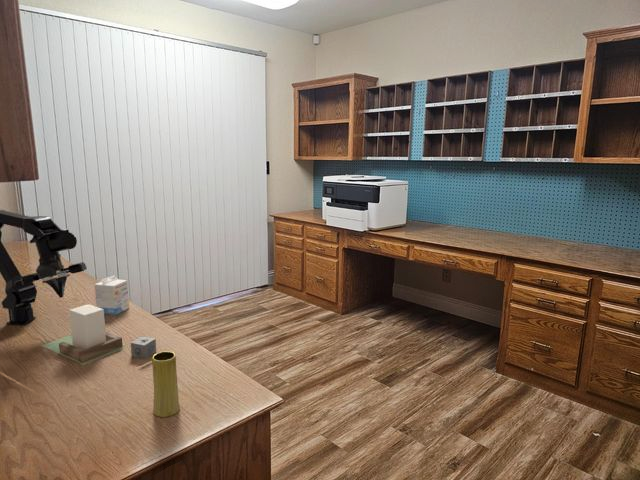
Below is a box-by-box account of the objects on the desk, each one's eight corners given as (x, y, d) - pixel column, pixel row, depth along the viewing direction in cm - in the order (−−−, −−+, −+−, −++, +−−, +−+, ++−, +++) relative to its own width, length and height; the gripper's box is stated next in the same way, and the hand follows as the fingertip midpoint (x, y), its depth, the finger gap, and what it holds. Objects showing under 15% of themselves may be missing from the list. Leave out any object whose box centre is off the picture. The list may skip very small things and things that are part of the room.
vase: (157, 403, 107) (154, 350, 105) (182, 402, 108) (180, 349, 105) (149, 418, 102) (146, 362, 99) (176, 417, 102) (174, 361, 99)
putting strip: (41, 346, 136) (41, 345, 136) (84, 331, 148) (84, 330, 148) (83, 366, 124) (83, 364, 124) (126, 348, 136) (126, 347, 136)
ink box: (115, 315, 163) (113, 281, 160) (96, 313, 164) (93, 279, 162) (129, 308, 171) (127, 275, 168) (111, 306, 173) (108, 273, 170)
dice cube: (145, 360, 129) (144, 345, 128) (131, 358, 130) (130, 342, 130) (156, 353, 134) (155, 338, 133) (143, 351, 135) (142, 336, 134)
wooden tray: (59, 352, 131) (58, 343, 131) (99, 337, 142) (99, 329, 142) (82, 362, 125) (81, 353, 125) (122, 346, 136) (122, 337, 136)
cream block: (73, 349, 134) (69, 309, 131) (91, 342, 139) (88, 304, 136) (88, 355, 130) (84, 315, 127) (106, 348, 135) (103, 309, 132)
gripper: (7, 263, 136) (22, 310, 138) (71, 249, 140) (84, 295, 142) (22, 258, 147) (35, 302, 149) (80, 246, 151) (92, 288, 153)
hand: (61, 297), depth 148 cm, fingers closed
